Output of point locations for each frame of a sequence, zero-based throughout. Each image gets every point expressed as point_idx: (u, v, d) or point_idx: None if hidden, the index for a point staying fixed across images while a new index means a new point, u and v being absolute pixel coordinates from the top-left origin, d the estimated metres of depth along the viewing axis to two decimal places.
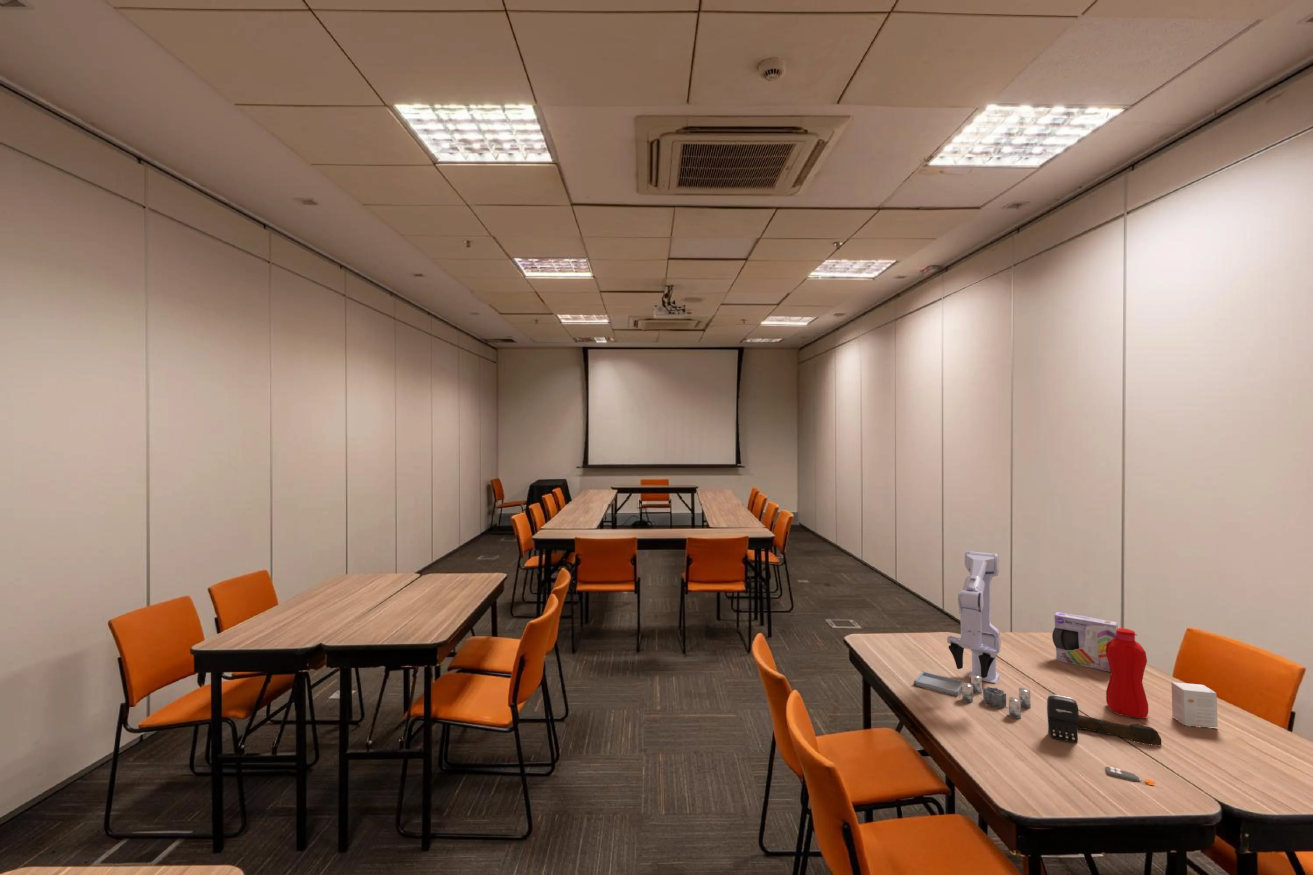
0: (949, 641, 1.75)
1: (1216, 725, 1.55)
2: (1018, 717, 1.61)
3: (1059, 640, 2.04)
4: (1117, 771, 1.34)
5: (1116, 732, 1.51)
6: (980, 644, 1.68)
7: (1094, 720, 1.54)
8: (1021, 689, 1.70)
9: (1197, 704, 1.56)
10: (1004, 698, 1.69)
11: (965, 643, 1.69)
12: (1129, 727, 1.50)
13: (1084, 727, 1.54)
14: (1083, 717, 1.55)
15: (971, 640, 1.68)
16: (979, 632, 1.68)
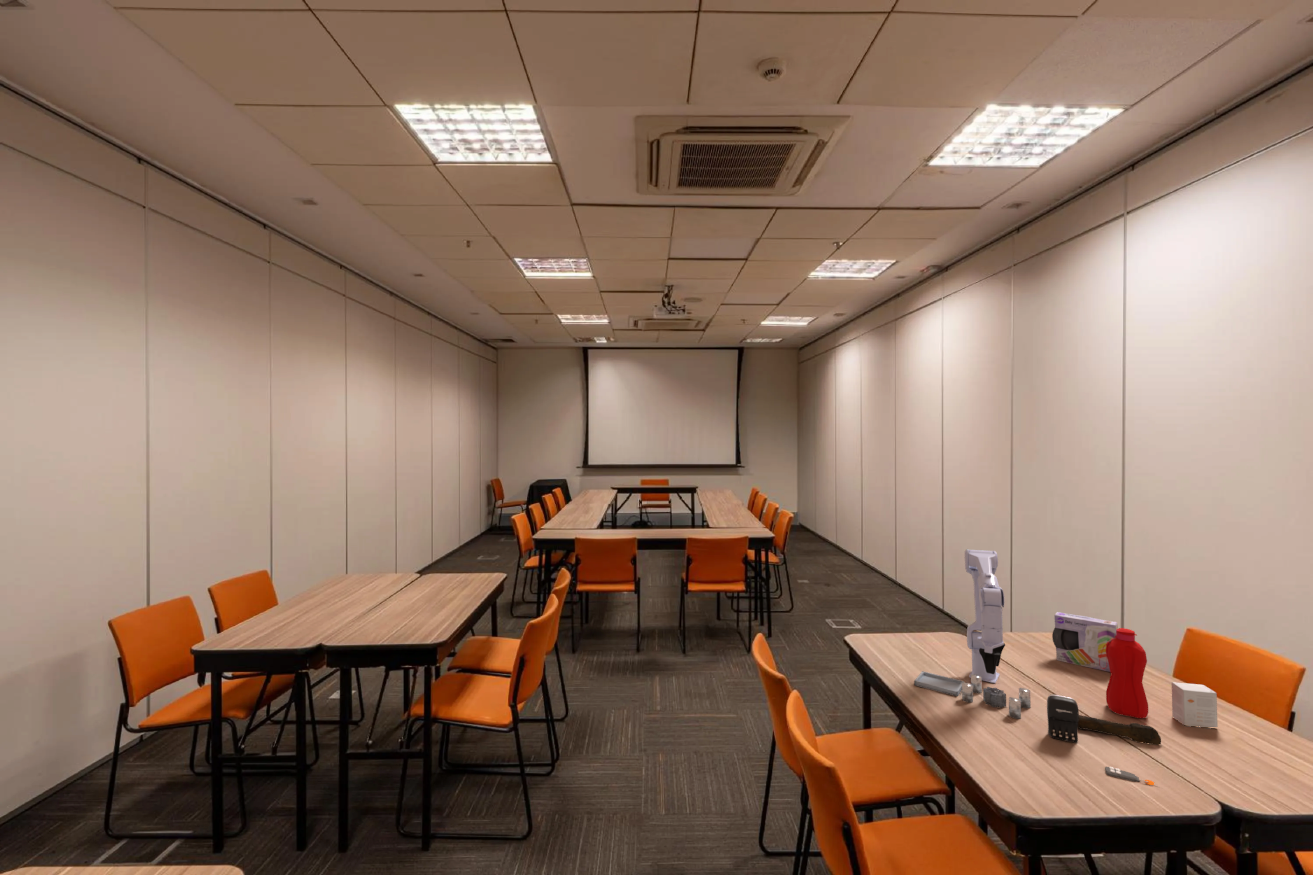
0: None
1: (1216, 725, 1.55)
2: (1018, 717, 1.61)
3: (1059, 640, 2.04)
4: (1117, 771, 1.34)
5: (1116, 732, 1.51)
6: (991, 641, 1.70)
7: (1094, 720, 1.54)
8: (1021, 689, 1.70)
9: (1197, 704, 1.56)
10: (1004, 698, 1.69)
11: None
12: (1129, 726, 1.50)
13: (1084, 727, 1.54)
14: (1083, 717, 1.55)
15: (982, 633, 1.72)
16: (989, 628, 1.70)
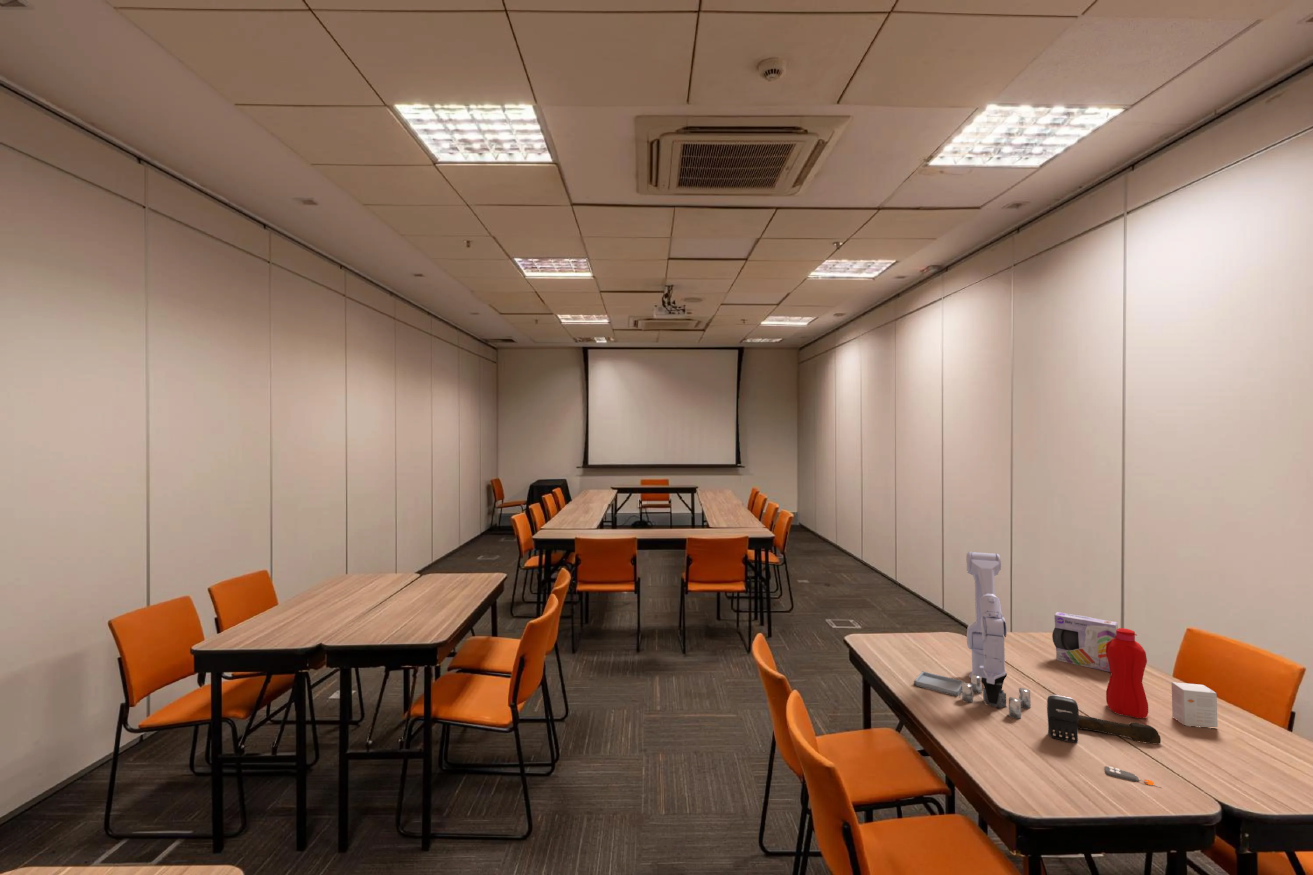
0: None
1: (1216, 725, 1.55)
2: (1018, 717, 1.61)
3: (1059, 640, 2.04)
4: (1116, 771, 1.34)
5: (1116, 731, 1.51)
6: (993, 671, 1.69)
7: (1094, 720, 1.54)
8: (1021, 689, 1.70)
9: (1197, 704, 1.56)
10: (1004, 698, 1.69)
11: None
12: (1129, 726, 1.50)
13: (1085, 727, 1.54)
14: (1083, 717, 1.55)
15: (984, 662, 1.71)
16: (991, 658, 1.69)
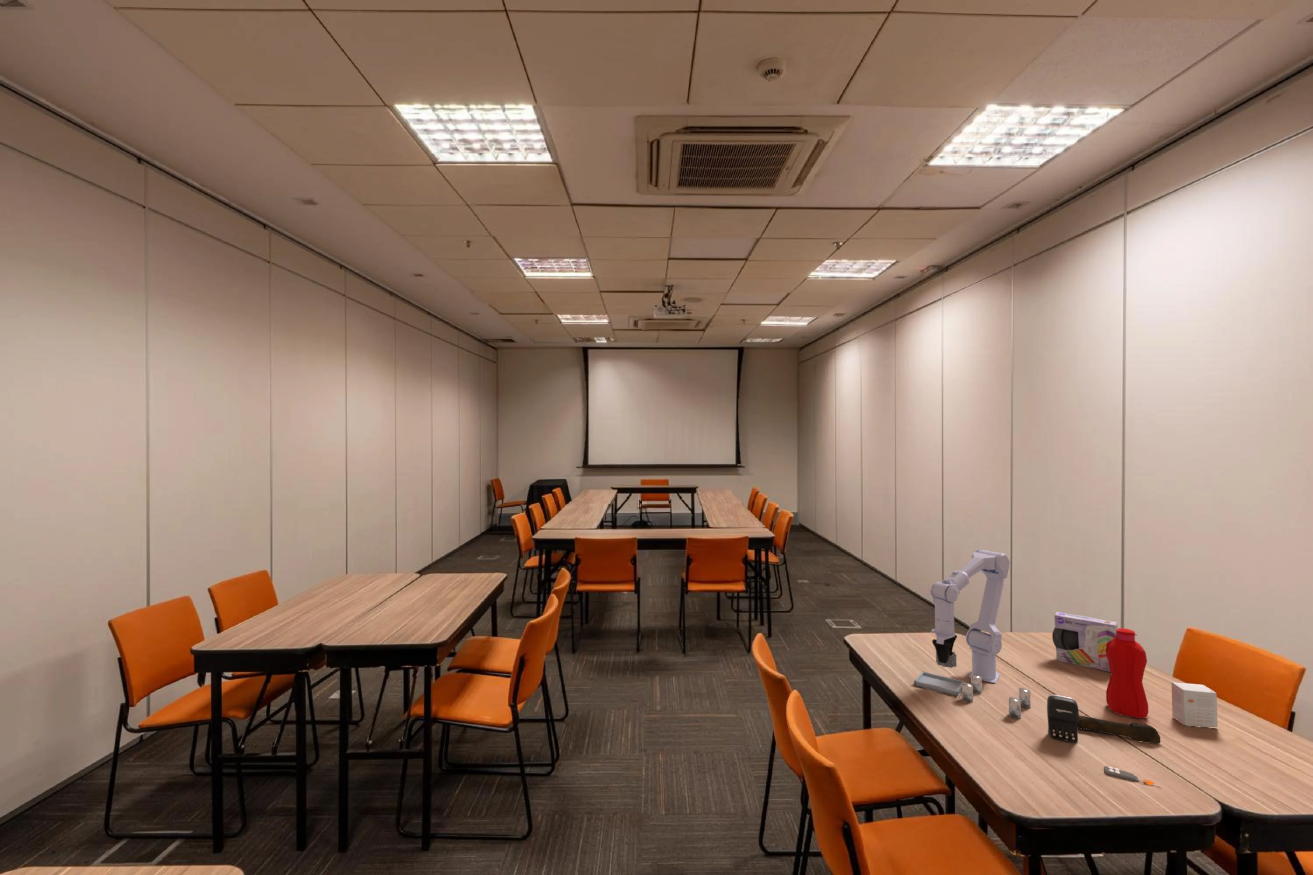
0: None
1: (1216, 725, 1.55)
2: (1018, 717, 1.61)
3: (1059, 640, 2.04)
4: (1116, 771, 1.34)
5: (1116, 731, 1.51)
6: (943, 632, 1.80)
7: (1094, 720, 1.54)
8: (1021, 689, 1.70)
9: (1197, 704, 1.56)
10: (954, 658, 1.80)
11: None
12: (1129, 726, 1.50)
13: (1085, 727, 1.54)
14: (1083, 717, 1.55)
15: (935, 625, 1.83)
16: (941, 621, 1.81)
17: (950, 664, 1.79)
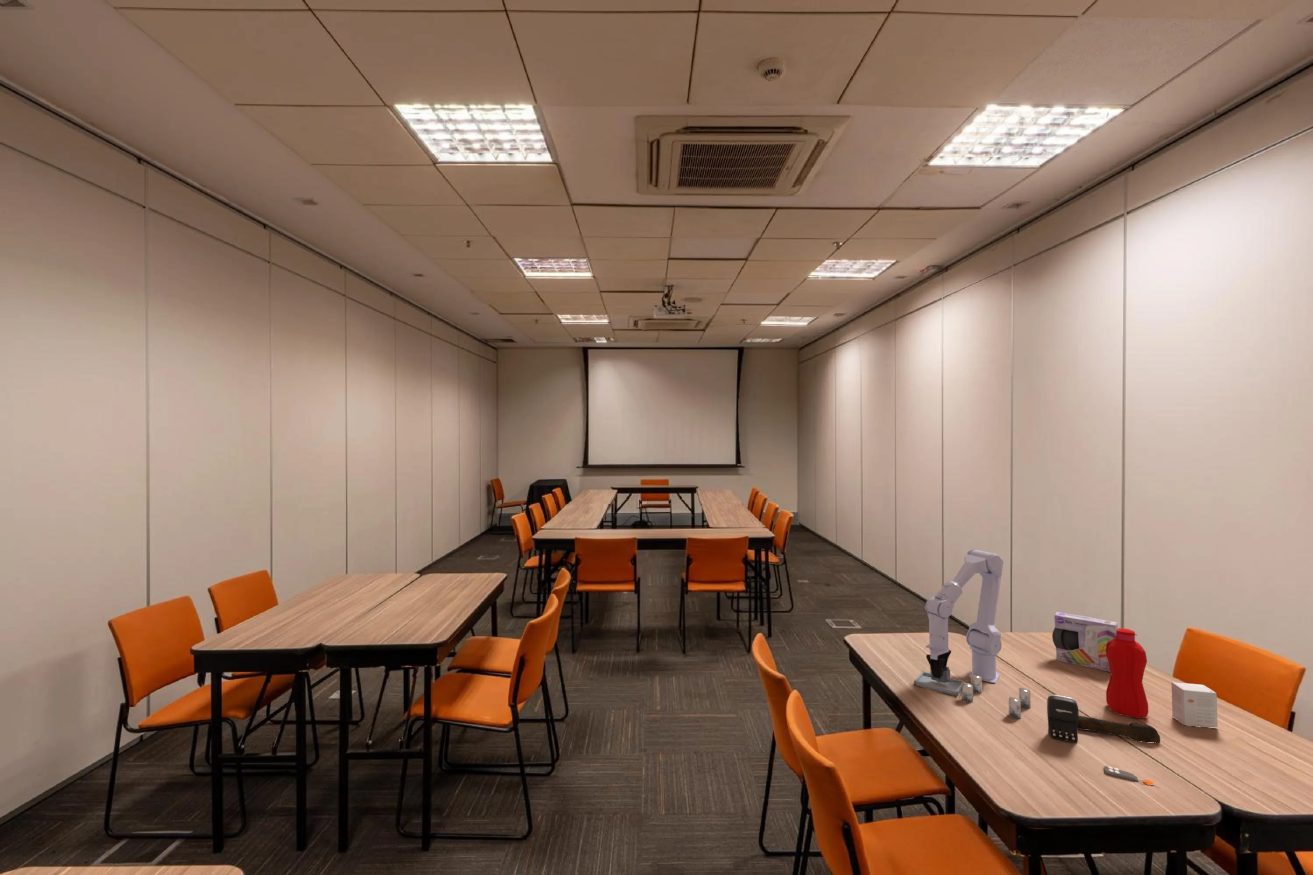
0: None
1: (1216, 725, 1.55)
2: (1018, 717, 1.61)
3: (1059, 640, 2.04)
4: (1115, 771, 1.34)
5: (1116, 732, 1.51)
6: (937, 648, 1.82)
7: (1095, 720, 1.54)
8: (1021, 689, 1.70)
9: (1197, 704, 1.56)
10: (948, 674, 1.81)
11: None
12: (1129, 726, 1.50)
13: (1085, 728, 1.54)
14: (1083, 717, 1.55)
15: (929, 640, 1.84)
16: (935, 636, 1.82)
17: (944, 679, 1.81)
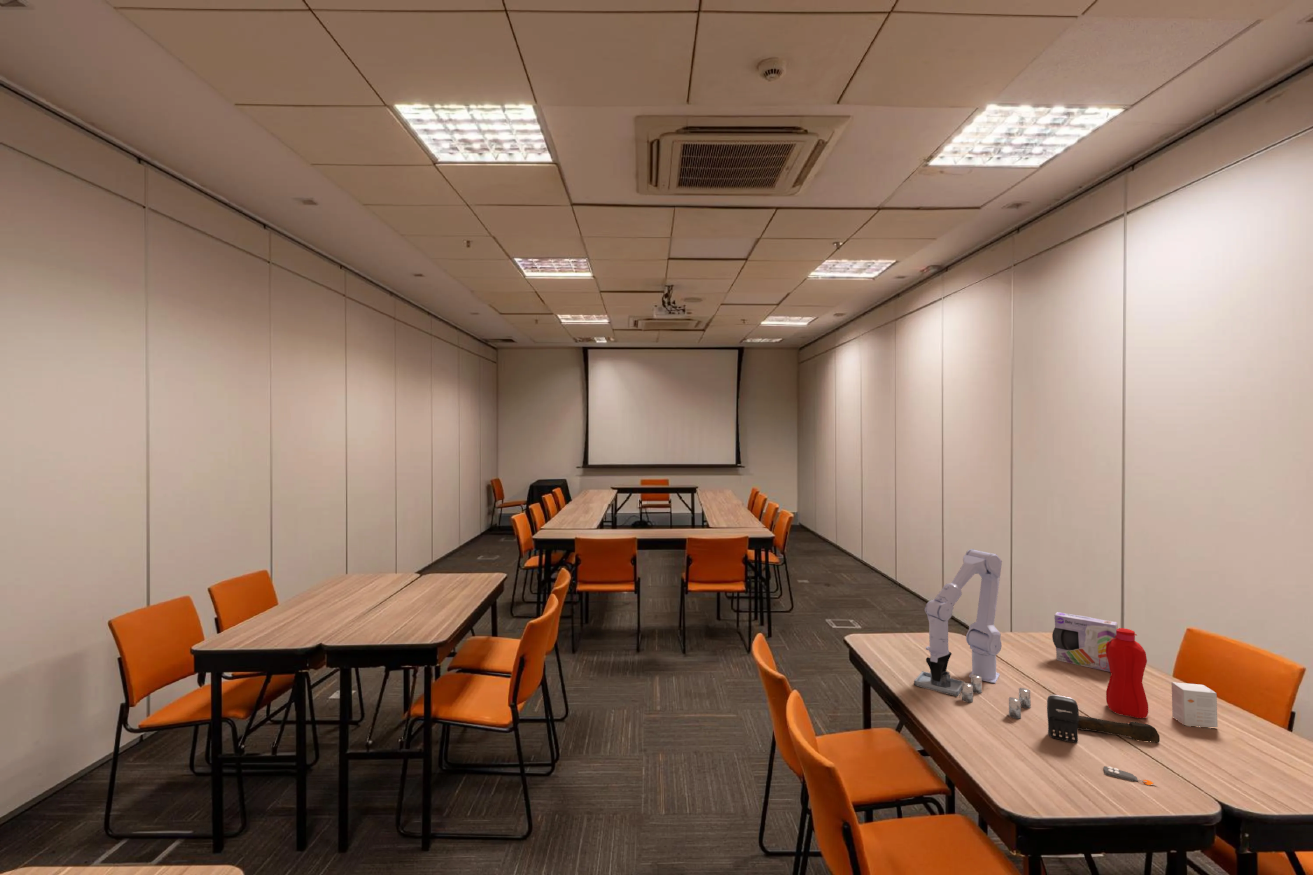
0: None
1: (1216, 725, 1.55)
2: (1018, 717, 1.61)
3: (1059, 640, 2.04)
4: (1115, 771, 1.34)
5: (1117, 731, 1.51)
6: (937, 650, 1.82)
7: (1095, 720, 1.54)
8: (1021, 689, 1.70)
9: (1197, 704, 1.56)
10: (948, 679, 1.81)
11: None
12: (1129, 725, 1.50)
13: (1085, 728, 1.54)
14: (1084, 717, 1.55)
15: (929, 643, 1.84)
16: (935, 638, 1.82)
17: (944, 684, 1.81)
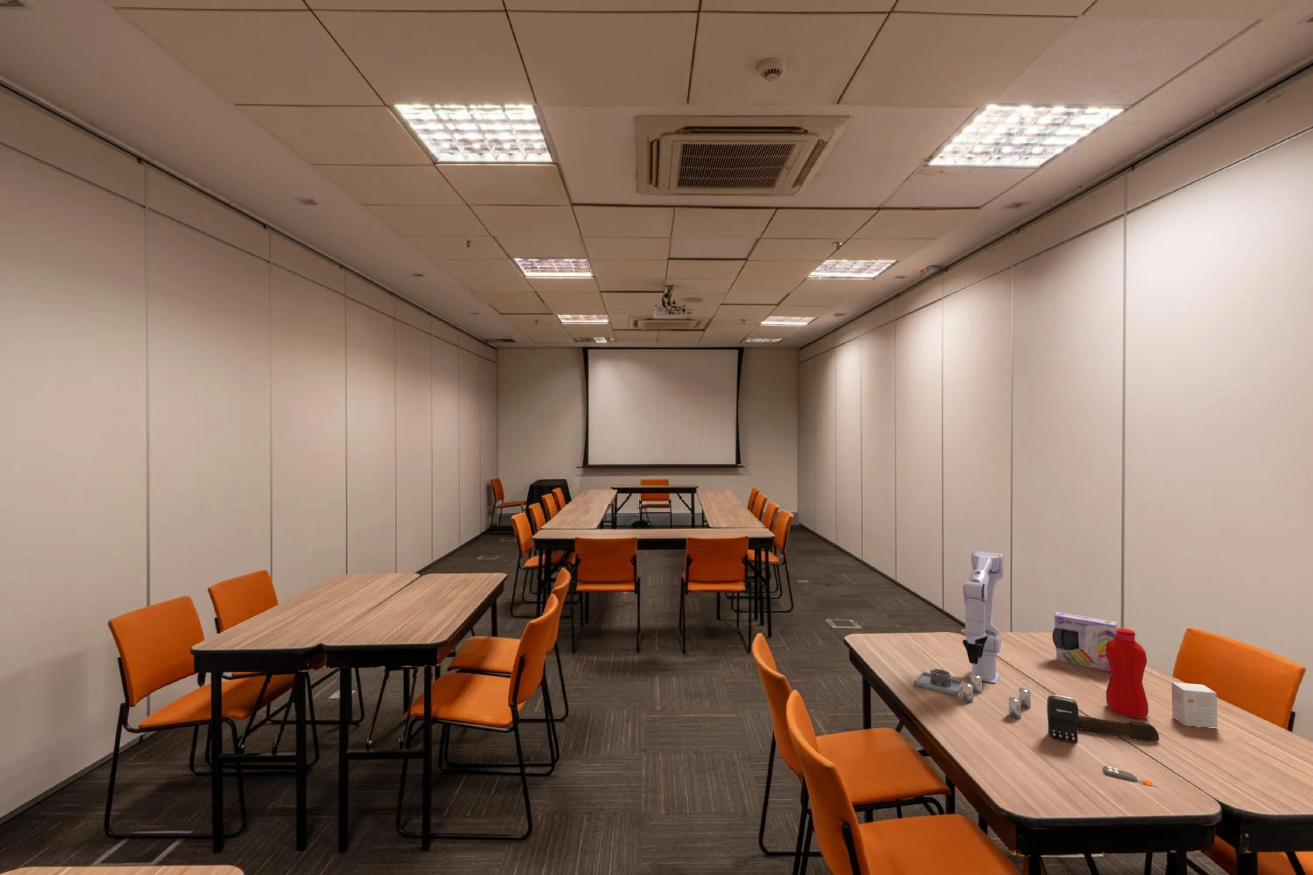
0: None
1: (1216, 725, 1.55)
2: (1018, 717, 1.61)
3: (1059, 640, 2.04)
4: (1115, 770, 1.34)
5: (1117, 731, 1.51)
6: (974, 632, 1.77)
7: (1095, 720, 1.54)
8: (1021, 689, 1.70)
9: (1197, 704, 1.56)
10: (948, 679, 1.81)
11: None
12: (1128, 725, 1.51)
13: (1086, 728, 1.54)
14: (1084, 717, 1.55)
15: (966, 625, 1.80)
16: (972, 620, 1.77)
17: (944, 684, 1.81)
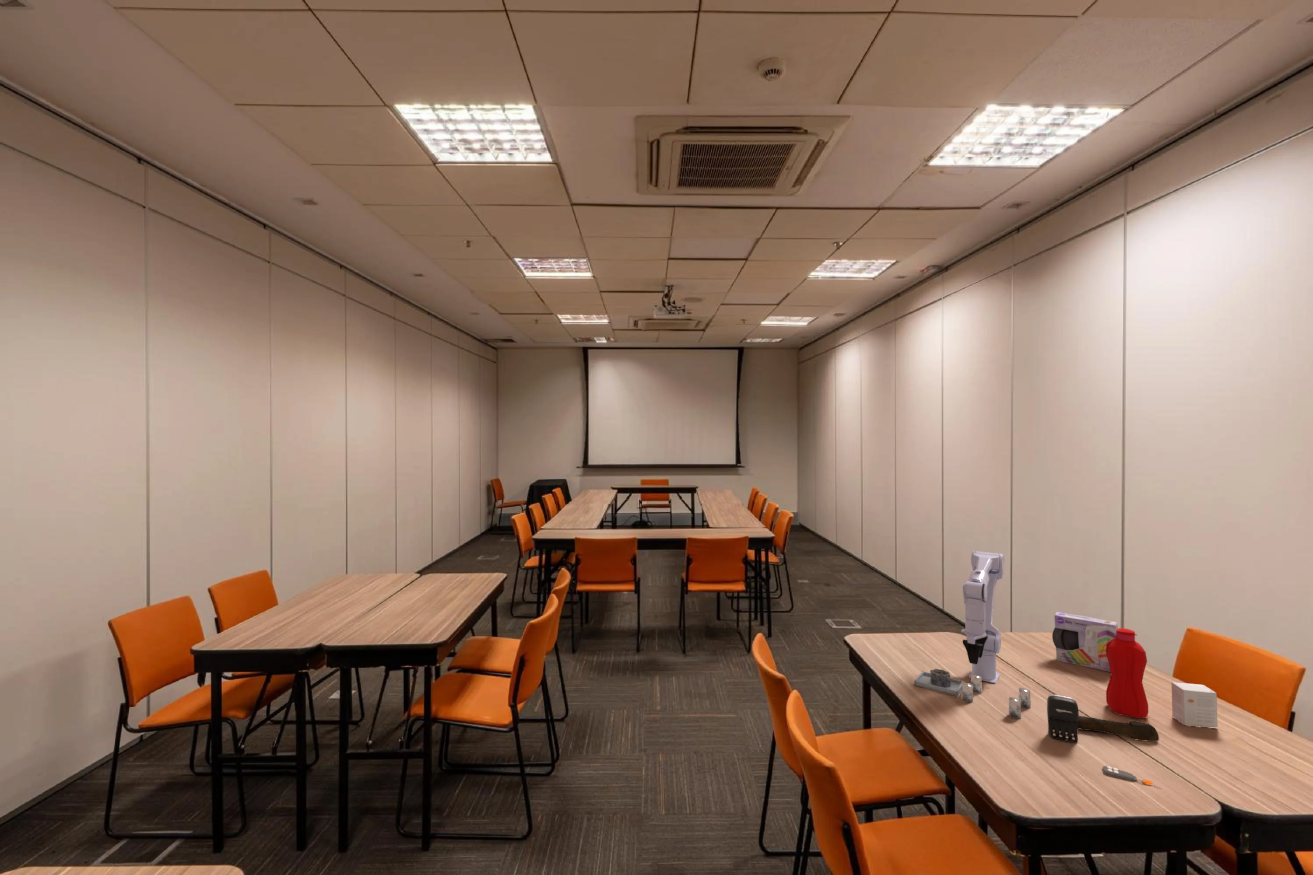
0: None
1: (1216, 725, 1.55)
2: (1018, 717, 1.61)
3: (1059, 640, 2.04)
4: (1114, 770, 1.34)
5: (1117, 731, 1.51)
6: (974, 632, 1.77)
7: (1095, 720, 1.54)
8: (1021, 689, 1.70)
9: (1197, 704, 1.56)
10: (948, 679, 1.81)
11: None
12: (1128, 725, 1.51)
13: (1086, 728, 1.54)
14: (1084, 718, 1.55)
15: (966, 625, 1.80)
16: (972, 620, 1.77)
17: (944, 684, 1.81)
